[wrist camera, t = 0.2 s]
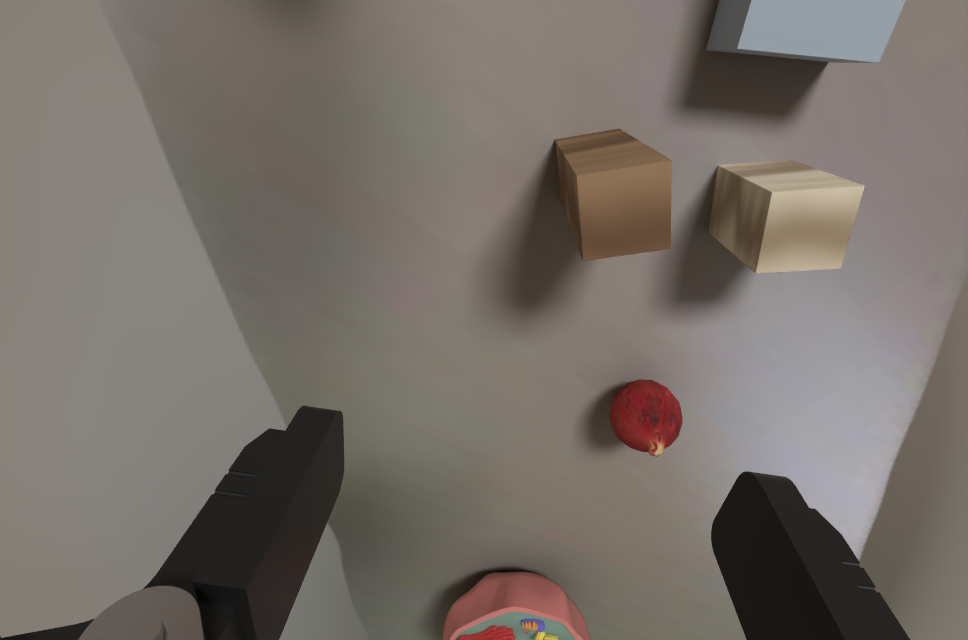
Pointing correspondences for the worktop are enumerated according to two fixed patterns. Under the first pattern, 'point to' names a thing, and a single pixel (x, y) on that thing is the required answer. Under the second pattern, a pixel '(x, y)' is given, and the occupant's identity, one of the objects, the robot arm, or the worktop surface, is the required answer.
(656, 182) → the walnut block
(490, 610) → the cell model
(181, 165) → the worktop surface
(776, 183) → the birch block
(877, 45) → the base block
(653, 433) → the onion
